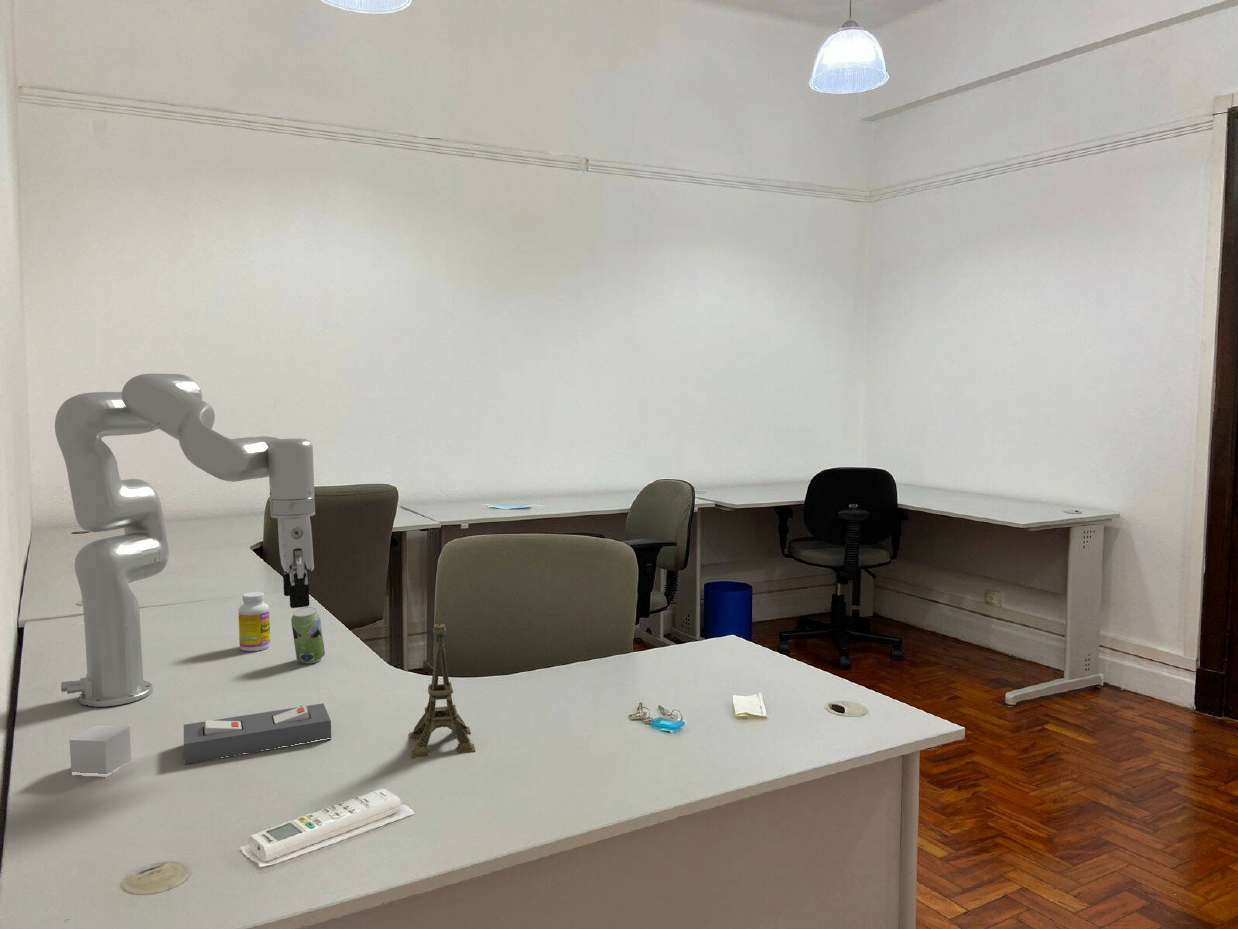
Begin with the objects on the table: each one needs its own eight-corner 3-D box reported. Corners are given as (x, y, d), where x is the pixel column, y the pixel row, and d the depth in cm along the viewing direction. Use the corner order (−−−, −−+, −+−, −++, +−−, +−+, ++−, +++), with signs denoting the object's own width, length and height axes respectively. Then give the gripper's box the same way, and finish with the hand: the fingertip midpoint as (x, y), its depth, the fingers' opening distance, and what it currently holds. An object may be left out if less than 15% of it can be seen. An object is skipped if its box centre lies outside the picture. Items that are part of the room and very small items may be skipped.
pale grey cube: (97, 760, 146) (95, 725, 145) (131, 762, 145) (129, 726, 144) (71, 776, 140) (69, 739, 139) (106, 778, 139) (104, 741, 138)
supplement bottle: (263, 652, 203) (261, 597, 201) (234, 652, 203) (232, 597, 201) (275, 643, 209) (273, 590, 208) (247, 643, 209) (245, 590, 208)
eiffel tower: (411, 759, 146) (408, 612, 144) (409, 734, 156) (406, 596, 154) (475, 752, 149) (473, 607, 147) (469, 728, 159) (467, 592, 157)
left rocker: (204, 734, 147) (206, 726, 147) (204, 727, 150) (205, 719, 150) (240, 735, 150) (242, 728, 150) (239, 728, 153) (240, 720, 153)
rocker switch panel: (184, 764, 144) (183, 744, 143) (184, 728, 158) (183, 710, 158) (331, 739, 154) (330, 720, 153) (318, 708, 168) (317, 690, 168)
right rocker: (276, 729, 152) (274, 722, 152) (274, 722, 155) (272, 715, 155) (309, 718, 154) (307, 711, 154) (307, 711, 158) (305, 704, 157)
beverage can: (329, 657, 199) (328, 605, 198) (315, 667, 192) (313, 613, 191) (303, 656, 200) (301, 604, 199) (287, 666, 193) (285, 612, 192)
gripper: (321, 512, 152) (325, 609, 154) (308, 500, 167) (311, 588, 169) (275, 515, 149) (279, 614, 150) (266, 503, 164) (269, 593, 166)
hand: (296, 600), depth 160 cm, fingers open, 9 cm apart
